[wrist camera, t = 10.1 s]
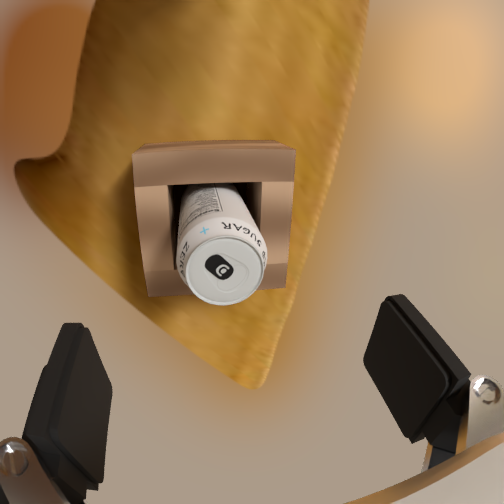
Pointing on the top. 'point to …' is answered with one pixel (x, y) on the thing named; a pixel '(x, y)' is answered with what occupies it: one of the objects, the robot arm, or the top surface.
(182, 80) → the top surface
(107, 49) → the top surface
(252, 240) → the energy drink can
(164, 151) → the well
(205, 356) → the top surface
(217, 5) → the top surface
